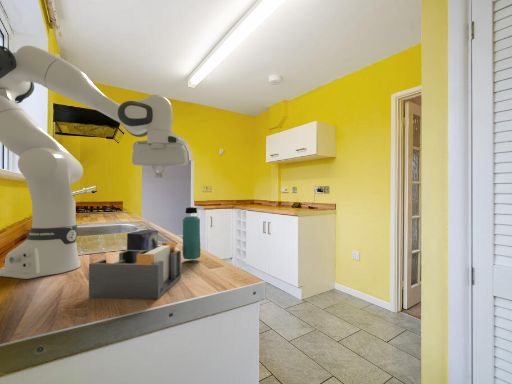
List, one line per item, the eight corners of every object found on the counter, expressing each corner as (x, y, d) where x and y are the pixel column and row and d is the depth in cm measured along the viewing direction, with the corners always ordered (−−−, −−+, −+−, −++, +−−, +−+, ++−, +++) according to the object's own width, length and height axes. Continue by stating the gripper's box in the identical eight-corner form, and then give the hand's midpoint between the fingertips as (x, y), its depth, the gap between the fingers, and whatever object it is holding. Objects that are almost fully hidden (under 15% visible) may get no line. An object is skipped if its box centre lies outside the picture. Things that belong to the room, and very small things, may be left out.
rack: (88, 297, 58) (89, 254, 59) (125, 276, 73) (125, 241, 74) (158, 299, 58) (158, 255, 58) (180, 277, 73) (181, 242, 73)
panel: (143, 290, 60) (143, 253, 60) (161, 276, 70) (161, 245, 70) (153, 290, 60) (153, 254, 60) (169, 276, 70) (170, 245, 70)
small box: (141, 262, 88) (141, 233, 88) (125, 261, 90) (125, 233, 90) (158, 255, 99) (158, 229, 99) (144, 254, 100) (144, 229, 100)
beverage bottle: (204, 260, 92) (204, 207, 92) (192, 264, 86) (192, 207, 86) (190, 258, 95) (190, 206, 95) (178, 262, 88) (178, 207, 89)
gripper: (128, 138, 89) (128, 176, 88) (183, 138, 88) (183, 176, 87) (137, 142, 95) (137, 178, 95) (189, 142, 94) (189, 177, 94)
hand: (160, 177), depth 91 cm, fingers closed
